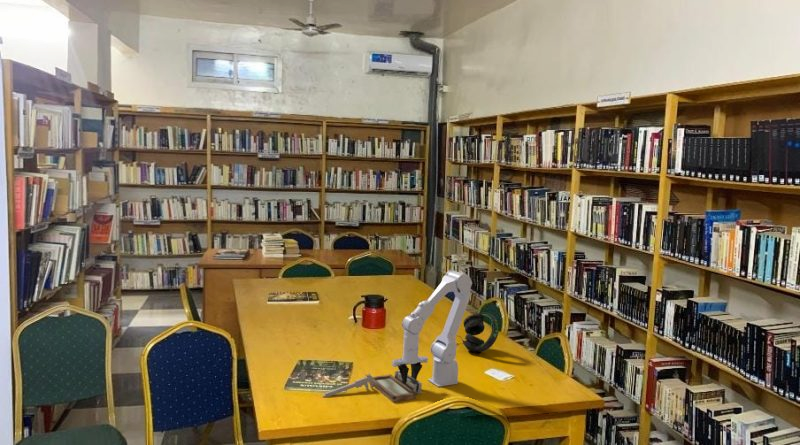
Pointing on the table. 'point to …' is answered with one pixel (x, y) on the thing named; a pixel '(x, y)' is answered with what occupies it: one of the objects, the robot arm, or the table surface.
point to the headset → (479, 332)
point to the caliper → (352, 386)
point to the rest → (393, 388)
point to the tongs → (410, 382)
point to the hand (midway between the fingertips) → (408, 382)
